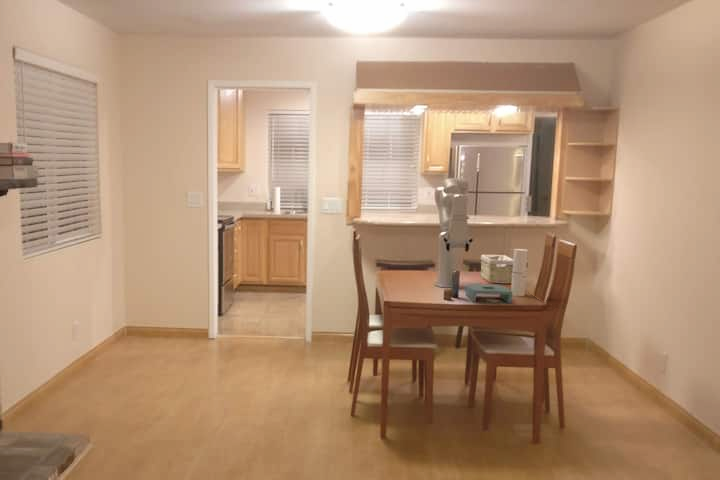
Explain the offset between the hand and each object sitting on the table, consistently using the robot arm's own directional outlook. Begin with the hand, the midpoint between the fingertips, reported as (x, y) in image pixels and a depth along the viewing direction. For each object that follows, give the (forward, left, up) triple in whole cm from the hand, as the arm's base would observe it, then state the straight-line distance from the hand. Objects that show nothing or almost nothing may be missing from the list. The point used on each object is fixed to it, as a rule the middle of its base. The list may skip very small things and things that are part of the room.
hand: (457, 251), depth 293 cm
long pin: (0, 0, -25) cm, 25 cm away
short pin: (+6, -5, -25) cm, 26 cm away
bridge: (+3, +17, -25) cm, 30 cm away
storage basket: (-52, +37, -25) cm, 68 cm away
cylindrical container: (-10, +37, -25) cm, 46 cm away
